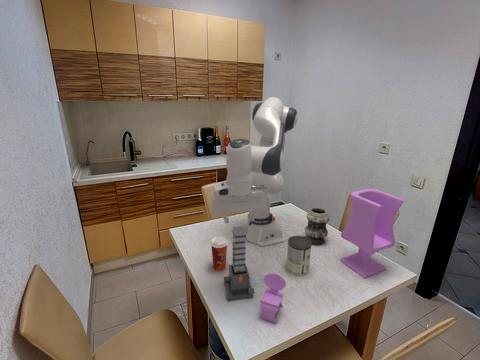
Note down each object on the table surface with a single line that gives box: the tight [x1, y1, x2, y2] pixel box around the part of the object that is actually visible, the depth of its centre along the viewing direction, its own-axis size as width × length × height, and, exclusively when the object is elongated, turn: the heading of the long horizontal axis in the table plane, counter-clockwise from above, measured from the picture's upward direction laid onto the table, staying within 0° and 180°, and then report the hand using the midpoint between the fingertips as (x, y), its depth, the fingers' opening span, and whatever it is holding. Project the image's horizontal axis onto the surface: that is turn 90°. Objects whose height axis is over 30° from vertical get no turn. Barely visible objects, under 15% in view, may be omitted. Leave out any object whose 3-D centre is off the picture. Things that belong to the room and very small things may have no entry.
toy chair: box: [259, 272, 287, 324], centre depth 91 cm, size 8×9×15 cm
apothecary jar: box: [304, 206, 330, 246], centre depth 137 cm, size 12×12×18 cm
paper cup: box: [210, 236, 229, 272], centre depth 115 cm, size 8×8×14 cm
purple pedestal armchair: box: [339, 188, 405, 279], centre depth 114 cm, size 16×16×35 cm
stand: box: [223, 262, 256, 302], centre depth 102 cm, size 11×11×10 cm
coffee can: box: [285, 235, 313, 277], centre depth 115 cm, size 10×10×14 cm
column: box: [232, 225, 247, 273], centre depth 98 cm, size 4×4×18 cm
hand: (239, 221), depth 94 cm, fingers open, 8 cm apart
